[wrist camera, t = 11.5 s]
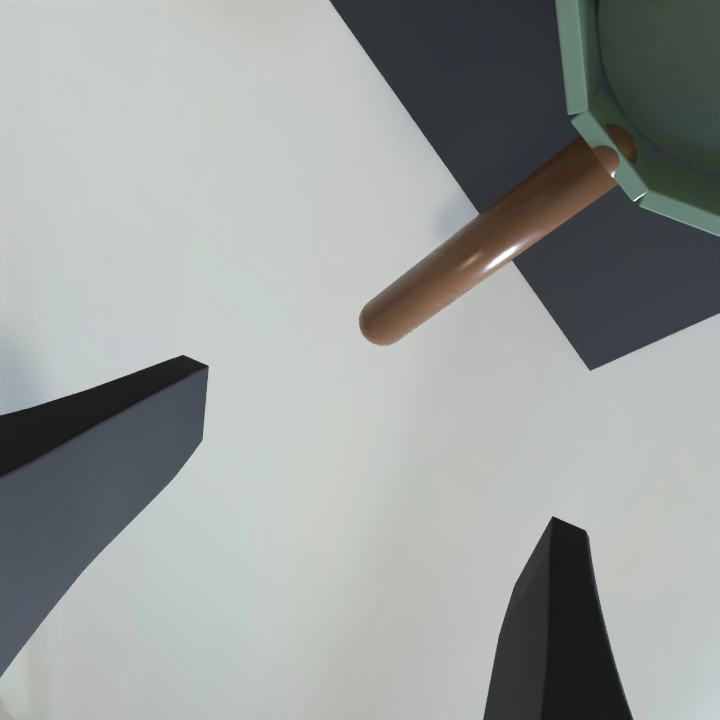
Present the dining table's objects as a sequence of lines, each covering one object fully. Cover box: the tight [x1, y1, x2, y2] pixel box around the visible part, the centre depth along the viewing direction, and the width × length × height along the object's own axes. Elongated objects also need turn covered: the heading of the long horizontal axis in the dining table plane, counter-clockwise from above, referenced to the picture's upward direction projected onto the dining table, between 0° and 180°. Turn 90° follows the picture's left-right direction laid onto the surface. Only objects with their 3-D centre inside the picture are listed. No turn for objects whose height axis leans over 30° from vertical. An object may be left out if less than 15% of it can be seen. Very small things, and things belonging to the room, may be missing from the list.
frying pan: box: [359, 0, 720, 346], centre depth 14 cm, size 17×8×4 cm, turn 136°
